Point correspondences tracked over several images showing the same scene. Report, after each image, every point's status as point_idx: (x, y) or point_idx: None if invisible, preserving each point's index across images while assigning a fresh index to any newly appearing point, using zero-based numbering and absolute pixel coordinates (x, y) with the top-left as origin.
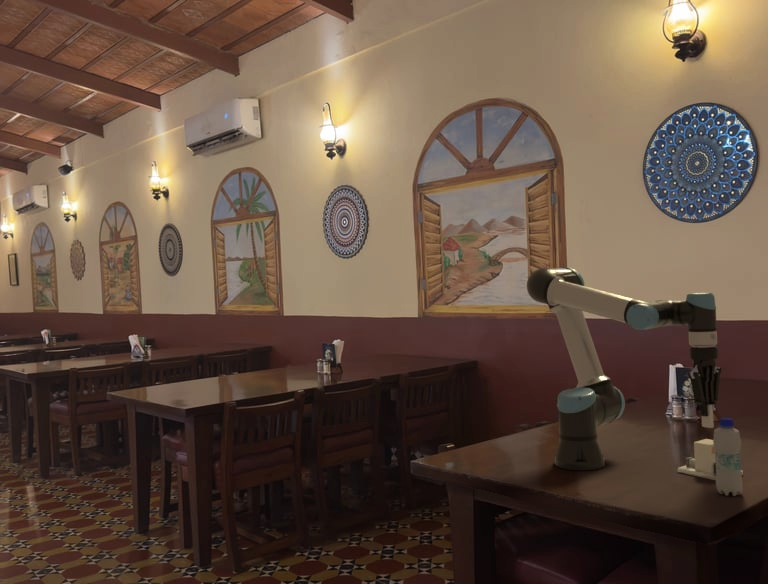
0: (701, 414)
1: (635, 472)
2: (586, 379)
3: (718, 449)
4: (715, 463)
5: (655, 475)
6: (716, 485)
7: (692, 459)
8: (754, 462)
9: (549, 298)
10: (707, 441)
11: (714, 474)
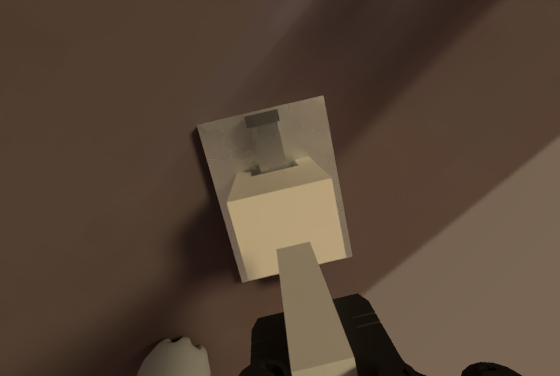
0: (253, 331)
1: (51, 44)
2: None
3: None
4: None
5: (99, 118)
6: (143, 361)
7: (261, 137)
8: (500, 160)
9: None
10: (292, 224)
11: None
